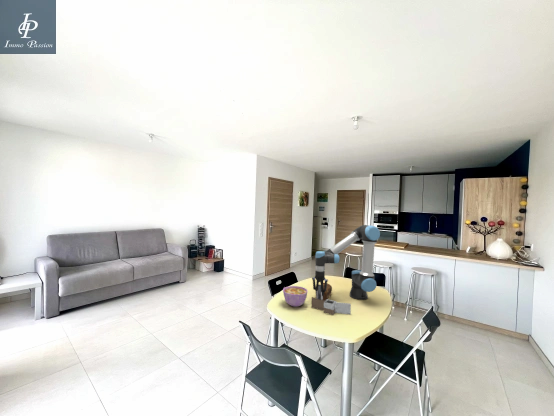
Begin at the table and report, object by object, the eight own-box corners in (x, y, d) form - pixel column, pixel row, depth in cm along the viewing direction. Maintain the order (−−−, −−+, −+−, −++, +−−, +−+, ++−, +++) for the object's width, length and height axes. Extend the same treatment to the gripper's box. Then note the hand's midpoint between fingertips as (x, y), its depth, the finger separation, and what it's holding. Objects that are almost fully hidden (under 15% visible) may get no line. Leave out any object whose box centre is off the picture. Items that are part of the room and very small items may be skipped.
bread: (321, 292, 202) (321, 281, 203) (332, 294, 197) (332, 283, 198) (315, 298, 186) (315, 287, 186) (327, 301, 181) (327, 289, 181)
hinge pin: (318, 302, 178) (318, 284, 179) (321, 303, 177) (322, 284, 177) (317, 303, 176) (317, 285, 176) (320, 304, 174) (320, 286, 174)
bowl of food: (290, 297, 187) (291, 284, 188) (311, 303, 176) (311, 289, 176) (277, 305, 171) (278, 290, 171) (299, 312, 160) (300, 296, 160)
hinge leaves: (314, 304, 174) (314, 295, 174) (351, 313, 159) (351, 303, 159) (309, 308, 166) (310, 299, 166) (347, 319, 151) (348, 308, 151)
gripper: (309, 270, 178) (308, 298, 177) (328, 273, 169) (327, 303, 169) (312, 268, 184) (312, 295, 184) (330, 271, 176) (330, 299, 175)
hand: (319, 299), depth 176 cm, fingers closed on hinge pin, 3 cm apart
